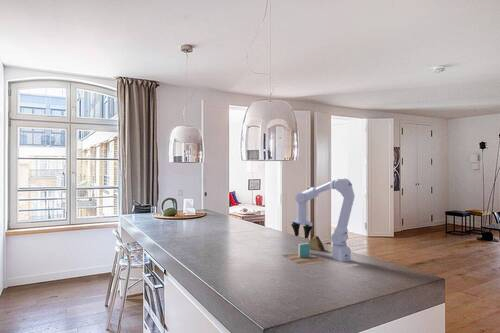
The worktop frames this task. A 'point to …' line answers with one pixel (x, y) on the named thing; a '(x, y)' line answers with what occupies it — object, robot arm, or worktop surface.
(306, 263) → the board
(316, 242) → the rock
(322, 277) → the worktop surface
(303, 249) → the tile
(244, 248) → the worktop surface
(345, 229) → the robot arm
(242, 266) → the worktop surface
